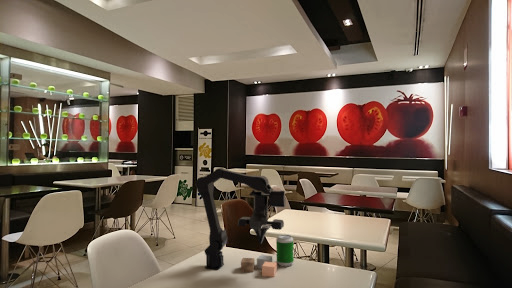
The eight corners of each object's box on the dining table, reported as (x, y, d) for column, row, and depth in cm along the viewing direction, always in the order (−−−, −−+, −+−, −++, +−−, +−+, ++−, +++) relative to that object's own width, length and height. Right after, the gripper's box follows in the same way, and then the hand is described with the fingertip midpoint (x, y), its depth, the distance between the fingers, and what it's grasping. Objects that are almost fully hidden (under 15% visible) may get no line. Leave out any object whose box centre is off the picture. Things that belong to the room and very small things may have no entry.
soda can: (293, 267, 130) (292, 239, 130) (275, 266, 131) (275, 238, 131) (294, 261, 137) (294, 234, 137) (277, 260, 139) (277, 233, 139)
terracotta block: (262, 275, 122) (261, 265, 122) (265, 271, 127) (265, 261, 127) (274, 277, 121) (274, 267, 121) (277, 272, 126) (276, 262, 126)
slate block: (257, 267, 131) (256, 258, 131) (261, 263, 135) (261, 254, 135) (267, 269, 128) (267, 260, 129) (272, 265, 133) (272, 256, 133)
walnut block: (241, 271, 127) (240, 262, 127) (243, 267, 132) (242, 257, 132) (253, 272, 126) (252, 262, 126) (254, 267, 131) (254, 258, 131)
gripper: (232, 208, 123) (232, 247, 123) (277, 211, 117) (277, 252, 117) (242, 203, 134) (242, 239, 134) (284, 206, 128) (284, 243, 128)
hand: (260, 243), depth 128 cm, fingers closed
